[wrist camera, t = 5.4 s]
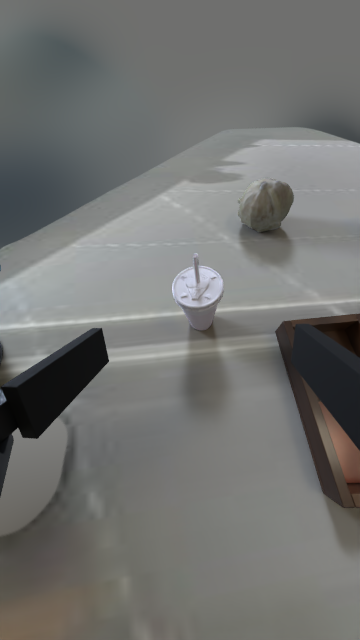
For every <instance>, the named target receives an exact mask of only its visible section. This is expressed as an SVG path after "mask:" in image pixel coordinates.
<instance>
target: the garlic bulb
mask: <svg viewBox="0 0 360 640" xmlns="http://www.w3.org/2000/svg"><path fill="white" fill-rule="evenodd" d="M293 201H294V195H293V192H292V189H291V188H290V186H289V185H288V184H287V183H284V182H281V181H277V180H275V179H271V178H262V179H260V180H257V181H255V182H253V183H252V184H251V185H250V186H249V187H248V188H247V190H246V191H245V192H244V194H243V196H242V198H241V199H240V198H239V199H238V203H239V204H240V206H239V210H238V216H239V217H240V218H241V222H242V223H244V224H246V225H247V226H248V227H250V228H252V229H254V230H256V231H257V232H263V231H266V230H274V229H277V228H279V227H280V226H281V221H282V220H283V219H284V218H285V217H286V216H287V214H288V212H289V210H290V207H291V205H292V203H293Z"/></svg>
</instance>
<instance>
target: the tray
mask: <svg viewBox="0 0 360 640" xmlns="http://www.w3.org/2000/svg"><path fill="white" fill-rule="evenodd" d="M296 324H310V325H312V326H313V327H315V328H316V329H318V330H319V331H321V332H322V333H324V334H325V335H327V336H328V337H330V338H331V339H333V340H334V341H336V342H337V343H339V344H340V345H341V346H343V347H344V348H346V349H347V350H349V351H350V352H352V353H353V354H355V355H356V356H358V357H359V358H360V314H351V315H341V316H331V317H321V318H311V319H301V320H291V321H283V322H282V324H281V325H280V326H279V327H278V329H277V330H276V331H275V332H276V335H277V339H278V342H279V346H280V349H281V352H282V356H283V359H284V362H285V366H286V369H287V372H288V376H289V379H290V383H291V386H292V389H293V393H294V396H295V399H296V403H297V406H298V410H299V413H300V416H301V420H302V423H303V426H304V430H305V433H306V437H307V440H308V443H309V447H310V450H311V453H312V457H313V460H314V464H315V467H316V470H317V474H318V477H319V480H320V484H321V487H322V491H323V493H324V494H325V495H327V496H328V497H329V498H331V499H332V500H334V501H335V502H336V503H338V504H339V505H341V506H342V507H344V508H355V507H356V508H360V451H359V449H358V448H357V447H356V446H355V444H354V443H353V442H352V440H351V439H350V438H349V437H348V435H347V434H346V433H345V431H344V430H343V429H342V428H341V426H340V425H339V424H338V422H337V421H336V420H335V419H334V417H333V416H332V415H331V413H330V412H329V411H328V410H327V408H326V407H325V406H324V404H323V403H322V402H321V401H320V399H319V398H318V397H317V395H316V394H315V393H314V392H313V390H312V389H311V388H310V386H309V385H308V384H307V383H306V381H305V380H304V379H303V377H302V376H301V375H300V374H299V372H298V371H297V370H296V368H295V367H294V366H293V365H292V363H291V357H292V349H293V341H294V333H295V325H296Z"/></svg>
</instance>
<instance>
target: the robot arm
mask: <svg viewBox="0 0 360 640" xmlns="http://www.w3.org/2000/svg"><path fill="white" fill-rule="evenodd" d="M0 271H1V266H0ZM1 360H2V345H1V343H0V364H1ZM108 362H109V359H108V354H107V350H106V345H105V341H104V336H103V331H102V328H92V329H91V330H89V331H87V332H86V333H84V334H83V335H81V336H80V337H78V338H76V339H75V340H73V341H72V342H70V343H69V344H67V345H65V346H64V347H62V348H61V349H59V350H58V351H56V352H54V353H53V354H51V355H50V356H48V357H47V358H45V359H43V360H42V361H40V362H39V363H37V364H36V365H34V366H32V367H31V368H29V369H28V370H26V371H25V372H23V373H21V374H20V375H18V376H17V377H15V378H14V379H12V380H10V381H9V382H7V383H6V384H4V385H3V386H1V388H0V496H1V492H2V488H3V483H4V479H5V475H6V470H7V467H8V462H9V458H10V453H11V449H12V445H13V441H14V440H13V436H12V434H11V433H12V432H13V431H15V430H16V429H17V428H19V430H20V432H21V435H22V437H23V438H36V439H37V438H39V436H40V435H41V434H42V433H43V432H44V431H45V430H46V429H47V428H48V427H49V426H50V425H51V423H52V422H53V421H54V420H55V419H56V418H57V417H58V416H59V415H60V414H61V413H62V412H63V411H64V409H65V408H66V407H67V406H68V405H69V404H70V403H71V402H72V401H73V400H74V399H75V398H76V396H77V395H78V394H79V393H80V392H81V391H82V390H83V389H84V388H85V387H86V386H87V385H88V384H89V382H90V381H91V380H92V379H93V378H94V377H95V376H96V375H97V374H98V373H99V372H100V371H101V369H102V368H103V367H104V366H105V365H106V364H107V363H108ZM291 363H292V365H293V366H294V367H295V368H296V370H297V371H298V372H299V374H300V375H301V376H302V377H303V379H304V380H305V381H306V383H307V384H308V385H309V386H310V388H311V389H312V390H313V392H314V393H315V394H316V395H317V397H318V398H319V399H320V401H321V402H322V403H323V404H324V406H325V407H326V408H327V410H328V411H329V412H330V413H331V415H332V416H333V417H334V419H335V420H336V421H337V422H338V424H339V425H340V426H341V428H342V429H343V430H344V431H345V433H346V434H347V435H348V437H349V438H350V439H351V440H352V442H353V443H354V444H355V446H356V447H357V448H358V449H359V451H360V358H359V357H358V356H356V355H355V354H353V353H352V352H350V351H349V350H347V349H346V348H344V347H343V346H341V345H340V344H339V343H337V342H336V341H334V340H333V339H331V338H330V337H328V336H327V335H325V334H324V333H322V332H321V331H319V330H318V329H316V328H315V327H313V326H312V325H310V324H296V325H295V333H294V341H293V349H292V357H291Z"/></svg>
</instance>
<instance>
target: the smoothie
mask: <svg viewBox="0 0 360 640" xmlns="http://www.w3.org/2000/svg"><path fill="white" fill-rule="evenodd" d="M193 264H194V267H190V268H187V269H185V270H183V271H182V272H180V273H179V274H178V275H177V277H176V278H175V280H174V282H173V285H172V292H173V297H174V300H175V301H176V303H177V304H178V305H179V306H180V307H181V308H182V309H183V311H184V313H185V315H186V317H187V318H188V320H189V322H190V324H191V326H192V327H193V328H194V329H196V330H206V329H208V328H209V327H210V326H211V324H212V321H213V318H214V314H215V311H216V308H217V304H218V303H219V302H220V300H221V298H222V297H223V292H224V284H223V280H222V277H221V276H220V274H219V273H218V272H216V271H215V270H214V269H212V268H209V267H205V266H199V262H198V254H193Z"/></svg>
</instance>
